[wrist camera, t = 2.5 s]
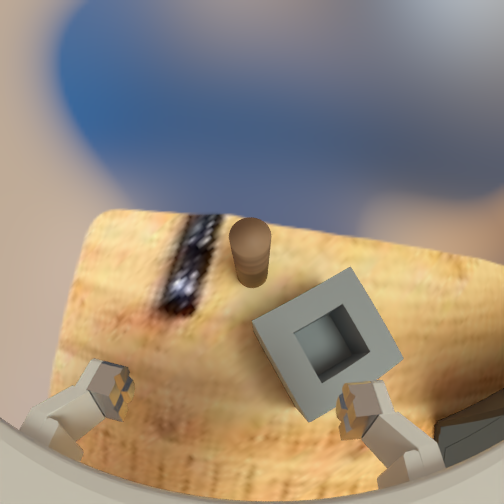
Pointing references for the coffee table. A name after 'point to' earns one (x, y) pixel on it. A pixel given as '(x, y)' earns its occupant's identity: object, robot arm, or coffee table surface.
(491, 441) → the laptop
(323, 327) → the socket block
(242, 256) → the walnut peg
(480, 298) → the coffee table surface
